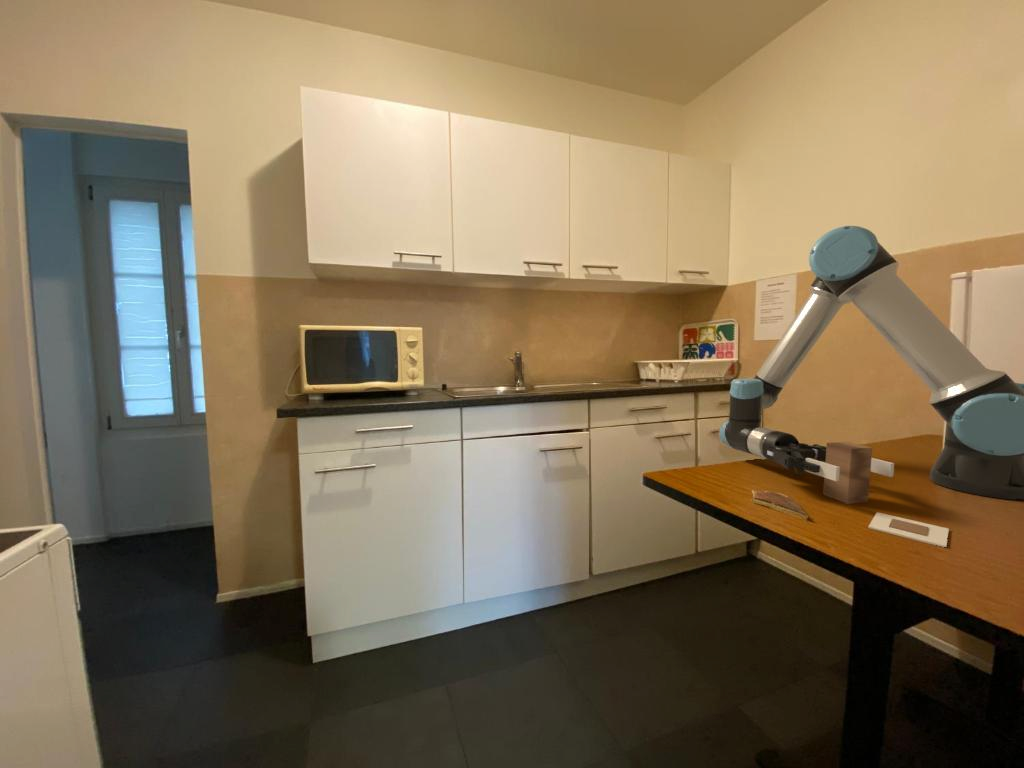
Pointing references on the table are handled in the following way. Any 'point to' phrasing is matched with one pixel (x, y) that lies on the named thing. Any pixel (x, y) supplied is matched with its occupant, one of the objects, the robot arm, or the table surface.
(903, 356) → the robot arm
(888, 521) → the swatch
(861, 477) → the walnut block
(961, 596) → the table surface
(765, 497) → the shard
